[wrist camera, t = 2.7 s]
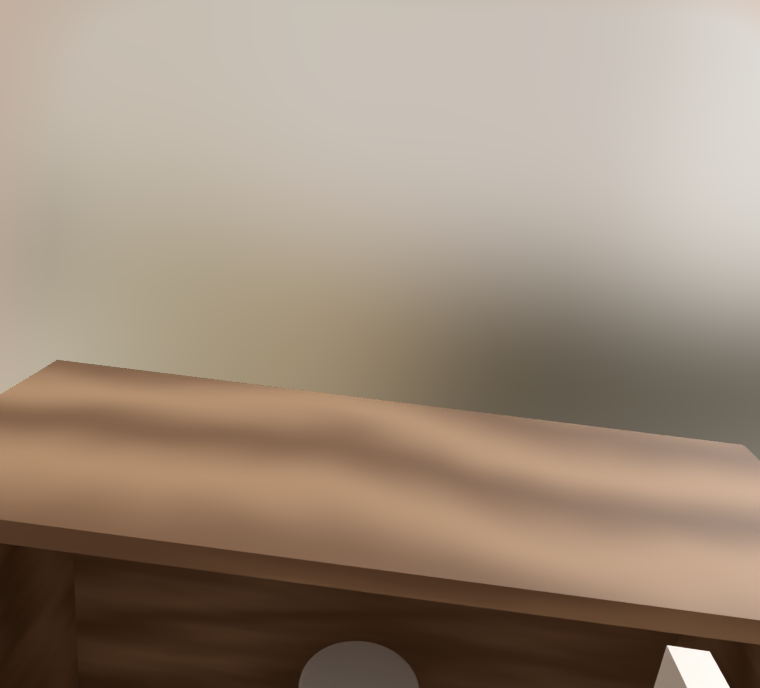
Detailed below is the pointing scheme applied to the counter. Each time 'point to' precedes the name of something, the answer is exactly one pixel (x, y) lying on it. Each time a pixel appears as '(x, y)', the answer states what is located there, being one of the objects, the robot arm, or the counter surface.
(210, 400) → the cubby
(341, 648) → the supplement bottle
